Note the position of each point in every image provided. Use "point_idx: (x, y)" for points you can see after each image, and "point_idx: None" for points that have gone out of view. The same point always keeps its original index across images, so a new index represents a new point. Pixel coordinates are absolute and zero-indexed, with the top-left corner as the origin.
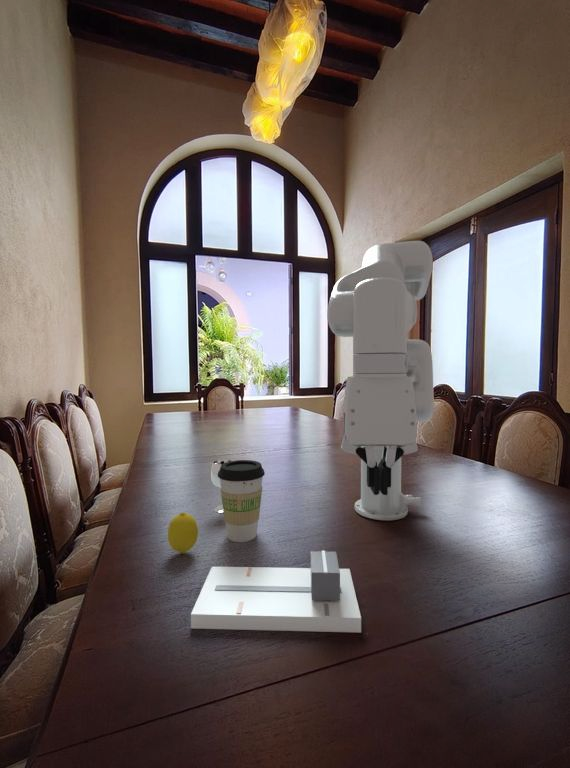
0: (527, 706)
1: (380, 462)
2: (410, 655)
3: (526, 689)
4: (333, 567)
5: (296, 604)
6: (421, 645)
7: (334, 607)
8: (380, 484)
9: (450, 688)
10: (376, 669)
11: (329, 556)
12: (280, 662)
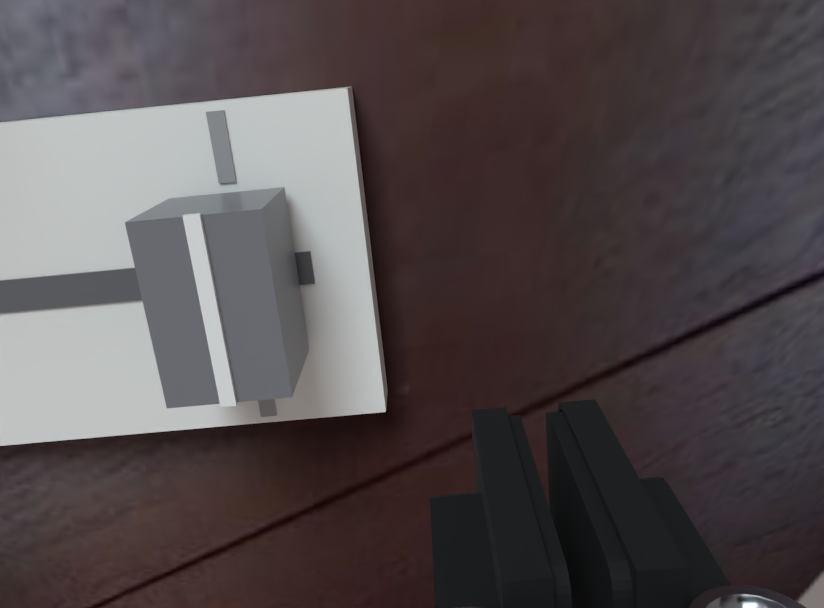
0: (755, 563)
1: (652, 576)
2: None
3: (784, 521)
4: (260, 358)
5: (150, 371)
6: None
7: None
8: (562, 546)
9: None
10: (421, 510)
11: (231, 263)
12: (163, 519)
